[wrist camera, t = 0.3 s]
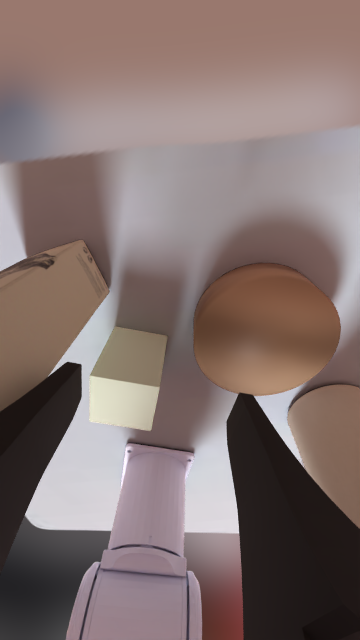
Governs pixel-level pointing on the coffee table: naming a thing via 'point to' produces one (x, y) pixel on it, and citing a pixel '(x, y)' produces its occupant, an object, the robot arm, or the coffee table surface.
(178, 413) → the coffee table surface
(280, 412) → the coffee table surface
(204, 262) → the coffee table surface
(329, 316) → the coaster stand
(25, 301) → the box
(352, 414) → the travel mug
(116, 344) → the block
